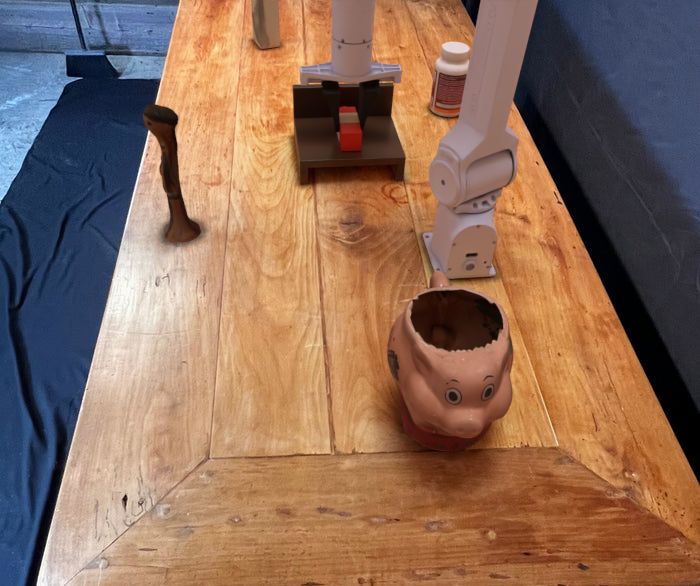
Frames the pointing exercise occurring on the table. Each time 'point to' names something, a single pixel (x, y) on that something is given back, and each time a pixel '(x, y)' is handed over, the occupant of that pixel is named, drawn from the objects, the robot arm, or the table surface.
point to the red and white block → (349, 129)
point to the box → (266, 23)
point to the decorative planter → (451, 364)
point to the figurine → (170, 172)
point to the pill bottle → (449, 79)
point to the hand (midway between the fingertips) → (348, 128)
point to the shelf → (321, 139)
